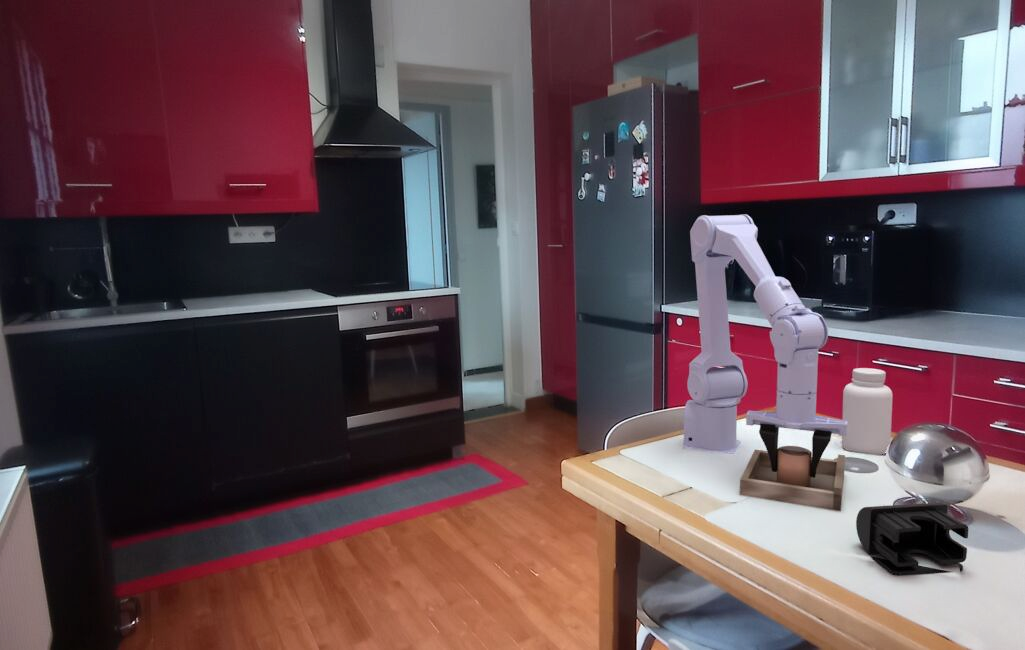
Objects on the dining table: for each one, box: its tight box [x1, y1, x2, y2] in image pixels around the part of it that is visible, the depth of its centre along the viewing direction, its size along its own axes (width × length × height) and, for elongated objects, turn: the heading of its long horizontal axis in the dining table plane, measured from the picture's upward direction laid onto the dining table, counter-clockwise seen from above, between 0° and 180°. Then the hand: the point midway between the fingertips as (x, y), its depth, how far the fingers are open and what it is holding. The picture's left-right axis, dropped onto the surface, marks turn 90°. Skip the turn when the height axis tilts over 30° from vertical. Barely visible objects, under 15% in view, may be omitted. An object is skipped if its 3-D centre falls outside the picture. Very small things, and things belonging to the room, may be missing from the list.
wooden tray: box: [739, 449, 846, 512], centre depth 101 cm, size 14×15×4 cm
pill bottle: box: [841, 367, 894, 456], centre depth 117 cm, size 8×8×15 cm
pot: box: [777, 445, 812, 487], centre depth 101 cm, size 5×5×5 cm
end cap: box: [855, 502, 969, 577], centre depth 79 cm, size 10×7×7 cm
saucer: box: [832, 456, 879, 474], centre depth 109 cm, size 7×7×1 cm
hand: (793, 472), depth 101 cm, fingers closed on pot, 5 cm apart
